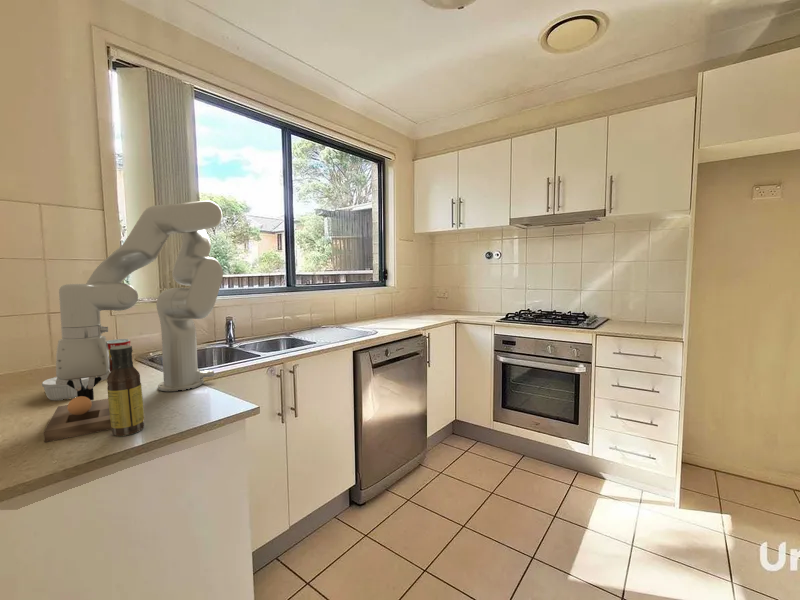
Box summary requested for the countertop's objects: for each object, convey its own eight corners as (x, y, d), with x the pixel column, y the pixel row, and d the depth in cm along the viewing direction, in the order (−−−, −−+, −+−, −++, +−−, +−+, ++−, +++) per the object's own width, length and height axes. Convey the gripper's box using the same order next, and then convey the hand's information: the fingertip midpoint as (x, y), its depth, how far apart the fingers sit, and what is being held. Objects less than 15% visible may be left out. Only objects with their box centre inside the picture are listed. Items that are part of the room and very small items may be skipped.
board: (126, 404, 101) (126, 395, 101) (125, 426, 87) (124, 416, 87) (58, 415, 93) (58, 406, 93) (44, 442, 79) (43, 431, 78)
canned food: (117, 377, 127) (116, 343, 126) (98, 376, 128) (96, 342, 127) (137, 371, 134) (135, 339, 133) (119, 370, 136) (117, 338, 135)
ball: (86, 403, 86) (89, 417, 88) (93, 391, 90) (95, 405, 92) (62, 405, 84) (65, 420, 86) (70, 393, 88) (72, 407, 90)
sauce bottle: (141, 423, 89) (137, 342, 87) (147, 431, 84) (143, 346, 83) (107, 431, 84) (102, 346, 82) (113, 440, 80) (107, 350, 78)
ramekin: (33, 403, 102) (31, 385, 101) (58, 391, 112) (57, 374, 112) (81, 400, 105) (80, 382, 104) (101, 388, 115) (100, 371, 115)
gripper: (120, 328, 99) (123, 394, 100) (44, 333, 90) (49, 405, 92) (118, 332, 93) (122, 402, 94) (37, 338, 84) (42, 415, 86)
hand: (86, 403), depth 93 cm, fingers closed
